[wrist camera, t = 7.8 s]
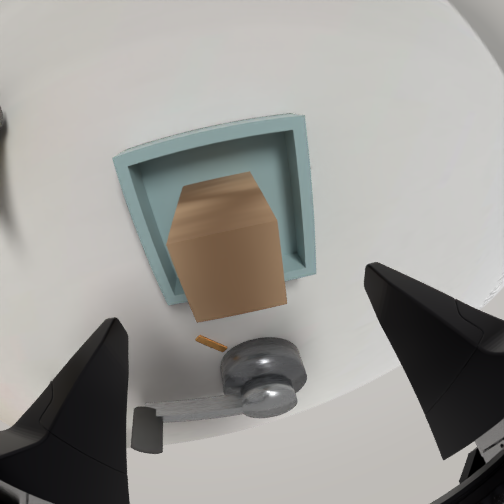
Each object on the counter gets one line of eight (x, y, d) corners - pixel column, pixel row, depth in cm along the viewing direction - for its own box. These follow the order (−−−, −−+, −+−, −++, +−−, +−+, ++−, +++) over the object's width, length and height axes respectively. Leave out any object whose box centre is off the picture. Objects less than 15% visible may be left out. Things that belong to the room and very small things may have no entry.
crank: (291, 370, 22) (306, 421, 17) (293, 394, 24) (305, 438, 20) (124, 393, 21) (119, 440, 17) (147, 414, 24) (145, 456, 19)
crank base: (221, 389, 28) (223, 411, 25) (194, 335, 22) (193, 363, 20) (300, 373, 28) (306, 394, 26) (296, 314, 23) (306, 340, 20)
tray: (171, 282, 19) (168, 305, 17) (125, 149, 14) (112, 158, 12) (304, 254, 20) (316, 273, 18) (290, 113, 14) (304, 115, 12)
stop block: (199, 243, 17) (197, 322, 11) (182, 186, 15) (166, 244, 9) (259, 230, 17) (287, 303, 12) (249, 171, 15) (277, 220, 9)
